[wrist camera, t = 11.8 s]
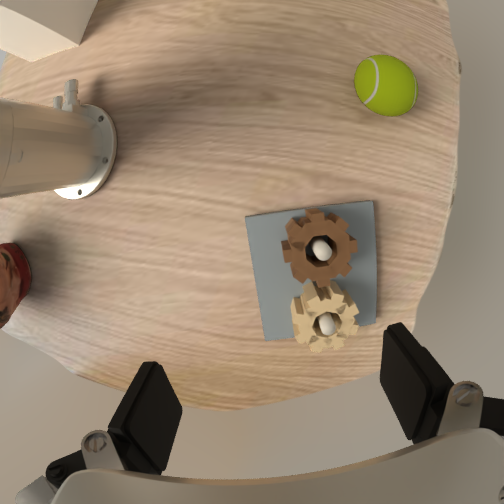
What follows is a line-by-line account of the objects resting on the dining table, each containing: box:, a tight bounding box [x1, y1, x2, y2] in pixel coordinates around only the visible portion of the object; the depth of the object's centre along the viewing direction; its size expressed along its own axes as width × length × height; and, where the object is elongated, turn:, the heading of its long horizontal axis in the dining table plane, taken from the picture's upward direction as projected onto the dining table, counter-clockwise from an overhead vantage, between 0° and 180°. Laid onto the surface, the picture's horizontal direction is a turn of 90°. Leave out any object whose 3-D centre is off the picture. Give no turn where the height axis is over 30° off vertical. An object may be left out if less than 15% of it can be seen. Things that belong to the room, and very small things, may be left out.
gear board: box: [245, 200, 377, 353], centre depth 28 cm, size 15×14×6 cm
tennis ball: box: [354, 55, 418, 116], centre depth 22 cm, size 7×7×7 cm
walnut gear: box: [281, 208, 358, 288], centre depth 27 cm, size 7×7×4 cm
